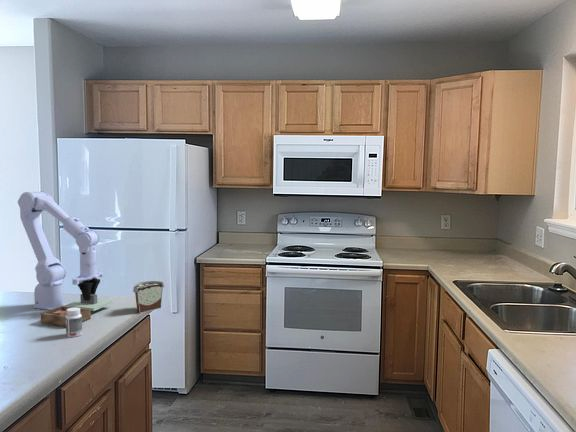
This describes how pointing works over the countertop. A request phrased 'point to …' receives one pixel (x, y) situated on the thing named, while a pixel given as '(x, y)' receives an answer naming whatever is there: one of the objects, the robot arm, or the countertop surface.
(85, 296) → the robot arm
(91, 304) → the lid
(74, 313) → the pill bottle
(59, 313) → the crate
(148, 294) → the food container
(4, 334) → the countertop surface
